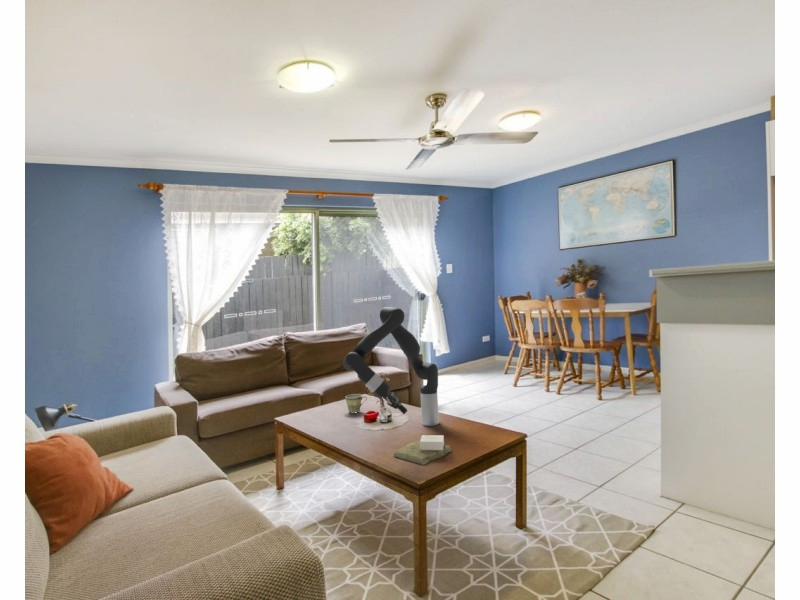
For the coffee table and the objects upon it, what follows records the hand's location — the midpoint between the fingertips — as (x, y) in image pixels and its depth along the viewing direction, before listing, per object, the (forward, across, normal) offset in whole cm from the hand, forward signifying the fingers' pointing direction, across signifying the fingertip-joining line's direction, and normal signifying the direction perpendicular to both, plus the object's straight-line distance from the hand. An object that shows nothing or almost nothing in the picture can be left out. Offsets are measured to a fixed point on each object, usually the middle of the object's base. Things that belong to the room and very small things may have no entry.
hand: (405, 412), depth 199 cm
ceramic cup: (-15, +65, +42) cm, 79 cm away
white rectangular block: (+14, 0, +6) cm, 15 cm away
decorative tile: (+19, 0, +9) cm, 21 cm away
